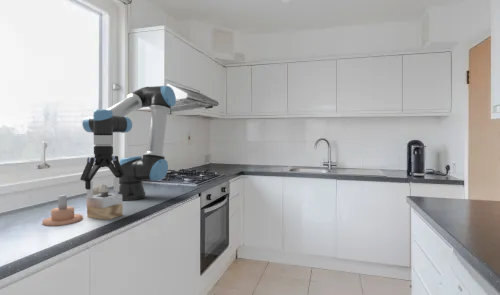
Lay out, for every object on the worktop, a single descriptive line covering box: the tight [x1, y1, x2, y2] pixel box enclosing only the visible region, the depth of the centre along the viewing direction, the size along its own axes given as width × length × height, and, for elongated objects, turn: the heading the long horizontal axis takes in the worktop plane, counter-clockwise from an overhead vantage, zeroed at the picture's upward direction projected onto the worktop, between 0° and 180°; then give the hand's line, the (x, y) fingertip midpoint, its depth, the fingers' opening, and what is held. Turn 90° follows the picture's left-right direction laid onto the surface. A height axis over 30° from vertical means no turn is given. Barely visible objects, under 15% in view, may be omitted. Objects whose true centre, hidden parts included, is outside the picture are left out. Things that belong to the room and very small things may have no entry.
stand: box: [86, 192, 123, 221], centre depth 129 cm, size 8×12×10 cm, turn 67°
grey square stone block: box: [85, 192, 123, 208], centre depth 129 cm, size 10×10×4 cm
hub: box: [42, 194, 84, 227], centre depth 122 cm, size 14×14×10 cm
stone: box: [93, 183, 111, 195], centre depth 143 cm, size 10×5×12 cm, turn 142°
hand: (103, 194), depth 129 cm, fingers open, 13 cm apart
